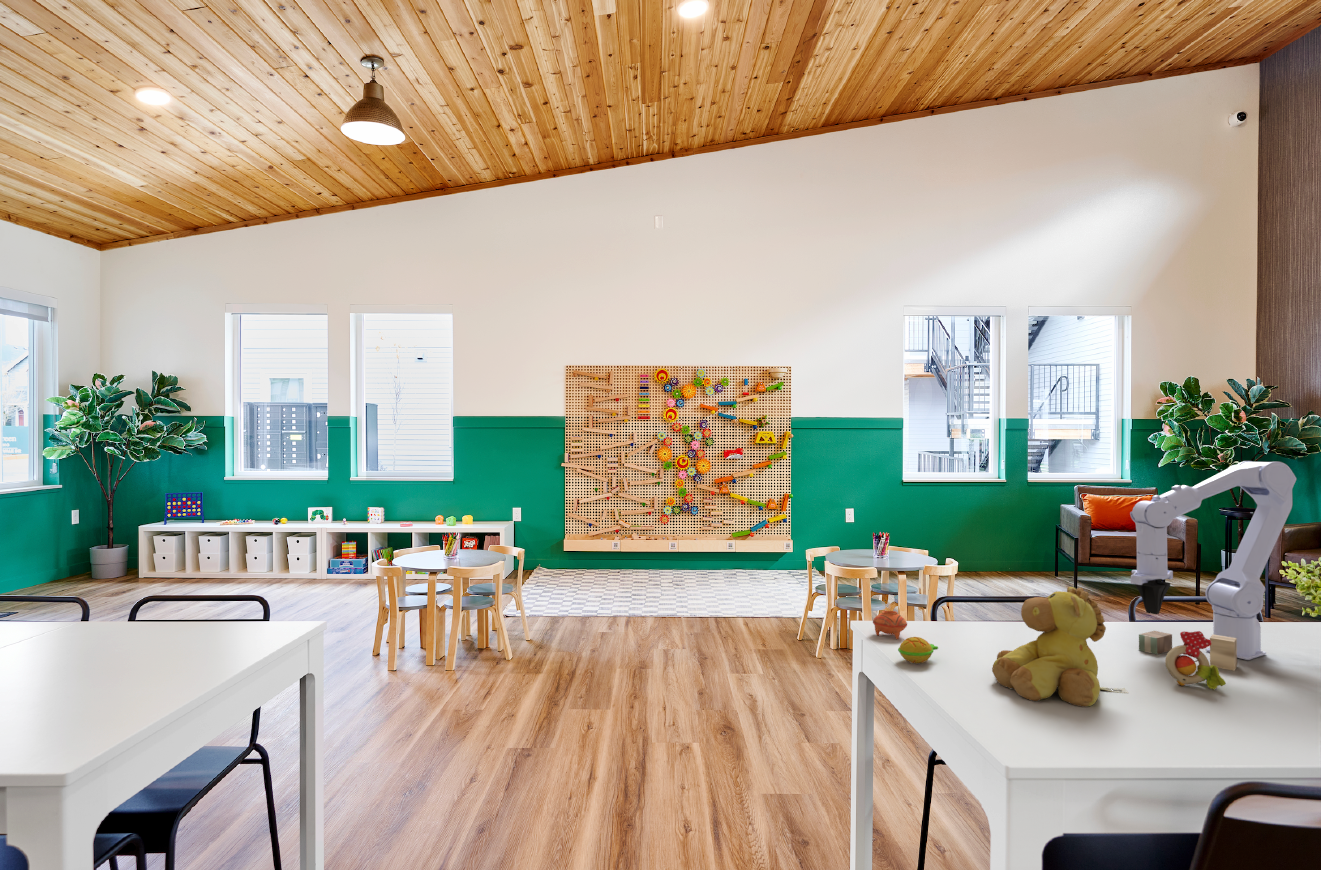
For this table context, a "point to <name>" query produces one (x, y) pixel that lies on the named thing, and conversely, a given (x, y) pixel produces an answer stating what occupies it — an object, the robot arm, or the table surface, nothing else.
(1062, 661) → the giraffe plush
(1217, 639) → the oak block
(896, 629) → the pot
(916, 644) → the yellow green oval toy
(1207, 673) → the bird rattle
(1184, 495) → the robot arm
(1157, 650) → the walnut block
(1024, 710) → the table surface
